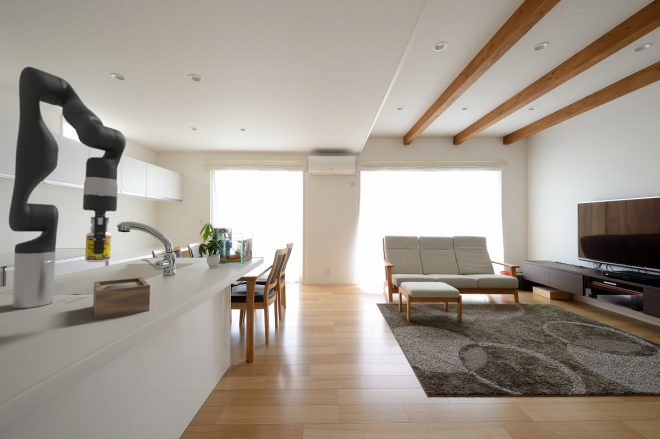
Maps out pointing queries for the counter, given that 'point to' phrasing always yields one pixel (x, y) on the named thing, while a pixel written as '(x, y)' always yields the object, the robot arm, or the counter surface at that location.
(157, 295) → the counter surface
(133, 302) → the wooden box
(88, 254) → the supplement bottle
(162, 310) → the counter surface
